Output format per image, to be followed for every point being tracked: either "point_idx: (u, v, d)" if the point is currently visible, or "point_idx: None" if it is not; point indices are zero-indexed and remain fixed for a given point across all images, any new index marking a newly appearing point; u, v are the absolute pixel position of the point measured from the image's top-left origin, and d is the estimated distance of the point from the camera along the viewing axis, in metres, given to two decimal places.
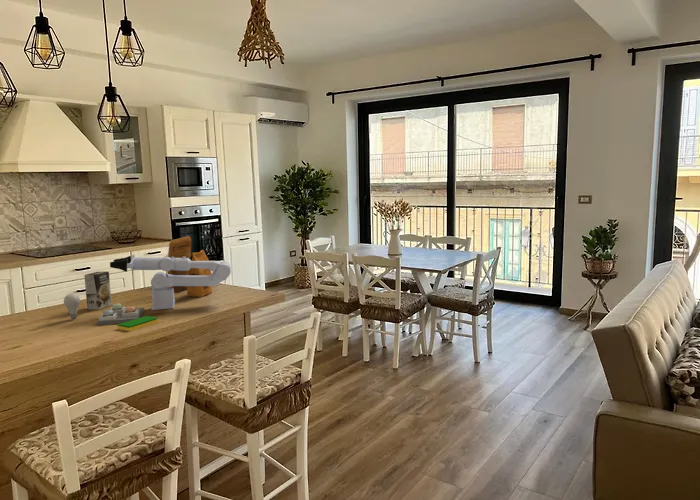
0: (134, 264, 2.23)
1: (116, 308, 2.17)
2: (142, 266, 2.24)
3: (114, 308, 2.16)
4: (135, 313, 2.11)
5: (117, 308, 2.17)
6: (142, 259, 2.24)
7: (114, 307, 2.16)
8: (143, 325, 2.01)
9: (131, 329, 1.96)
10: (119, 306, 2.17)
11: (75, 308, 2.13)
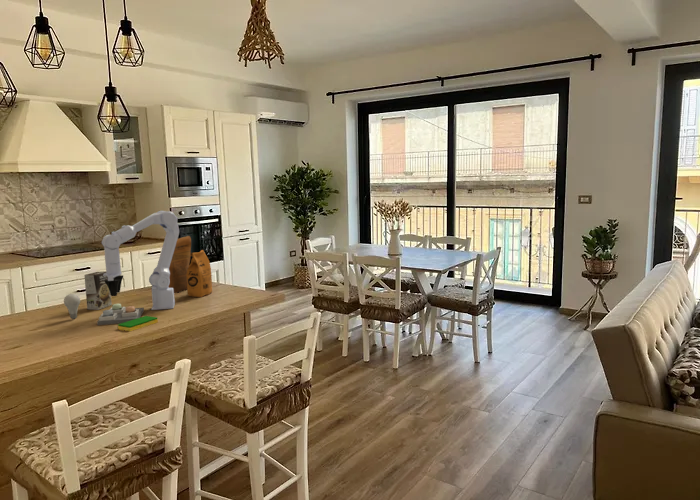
0: (112, 273, 2.13)
1: (116, 308, 2.17)
2: (113, 265, 2.13)
3: (114, 308, 2.16)
4: (135, 313, 2.11)
5: (117, 308, 2.17)
6: (106, 265, 2.13)
7: (114, 307, 2.16)
8: (143, 325, 2.01)
9: (132, 329, 1.96)
10: (119, 306, 2.17)
11: (75, 308, 2.13)
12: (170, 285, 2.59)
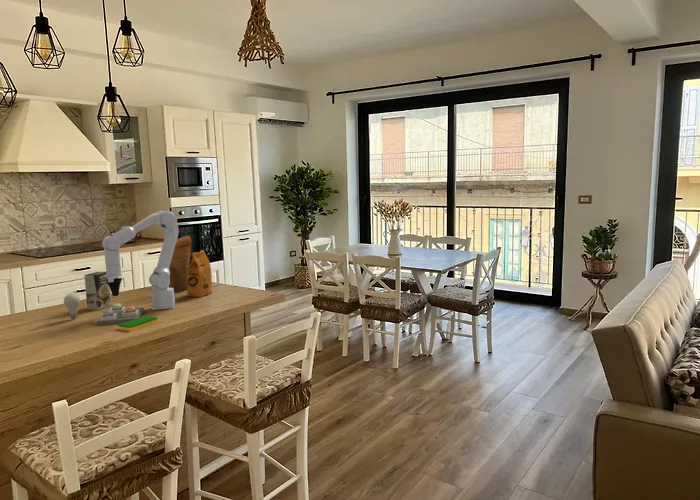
0: (112, 274, 2.13)
1: (116, 308, 2.17)
2: (113, 266, 2.13)
3: (114, 308, 2.16)
4: (135, 313, 2.11)
5: (117, 308, 2.17)
6: (106, 267, 2.13)
7: (114, 307, 2.16)
8: (143, 325, 2.01)
9: (132, 329, 1.96)
10: (119, 306, 2.17)
11: (75, 308, 2.13)
12: (170, 285, 2.59)
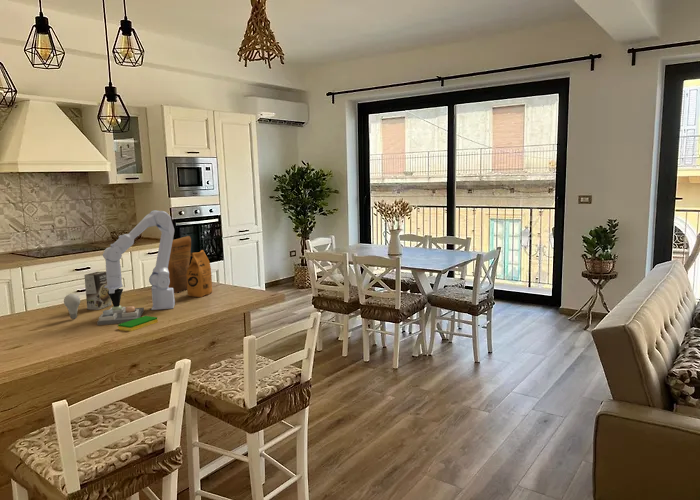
0: (113, 285, 2.14)
1: None
2: (114, 277, 2.14)
3: None
4: (135, 313, 2.11)
5: None
6: (107, 278, 2.14)
7: (114, 309, 2.16)
8: (143, 325, 2.01)
9: (132, 329, 1.96)
10: (119, 308, 2.17)
11: (75, 308, 2.13)
12: (170, 285, 2.59)
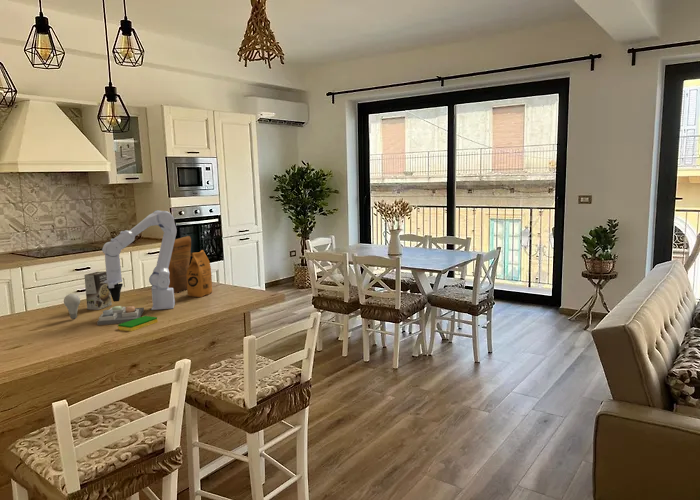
0: (112, 280, 2.14)
1: None
2: (114, 272, 2.14)
3: None
4: (135, 313, 2.11)
5: None
6: (107, 273, 2.14)
7: (114, 309, 2.17)
8: (144, 325, 2.01)
9: (133, 329, 1.96)
10: (119, 308, 2.17)
11: (75, 308, 2.13)
12: (170, 285, 2.59)
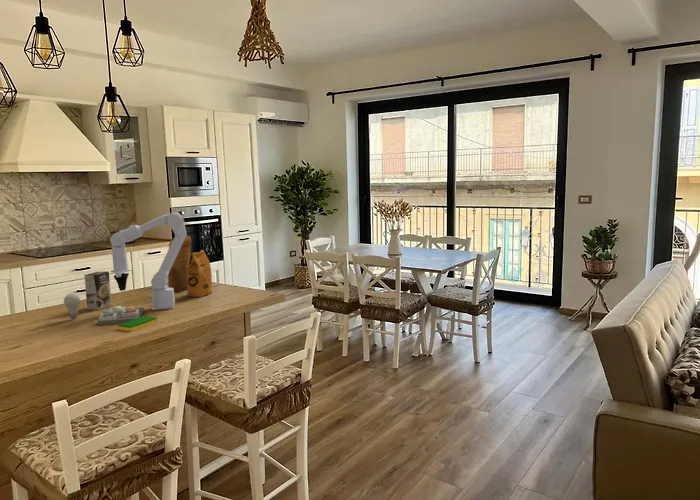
0: (119, 269, 2.21)
1: None
2: (121, 262, 2.21)
3: None
4: (135, 313, 2.11)
5: None
6: (114, 262, 2.21)
7: (114, 309, 2.17)
8: (144, 325, 2.01)
9: (133, 329, 1.96)
10: (119, 308, 2.17)
11: (75, 308, 2.13)
12: (170, 285, 2.59)
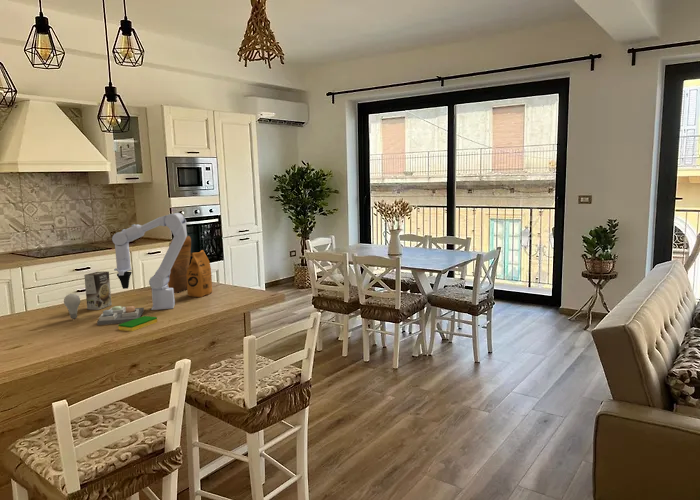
0: (122, 268, 2.25)
1: None
2: (124, 260, 2.25)
3: None
4: (135, 313, 2.11)
5: None
6: (117, 261, 2.25)
7: (114, 309, 2.17)
8: (144, 325, 2.01)
9: (133, 329, 1.96)
10: (119, 308, 2.17)
11: (75, 308, 2.13)
12: (170, 285, 2.59)
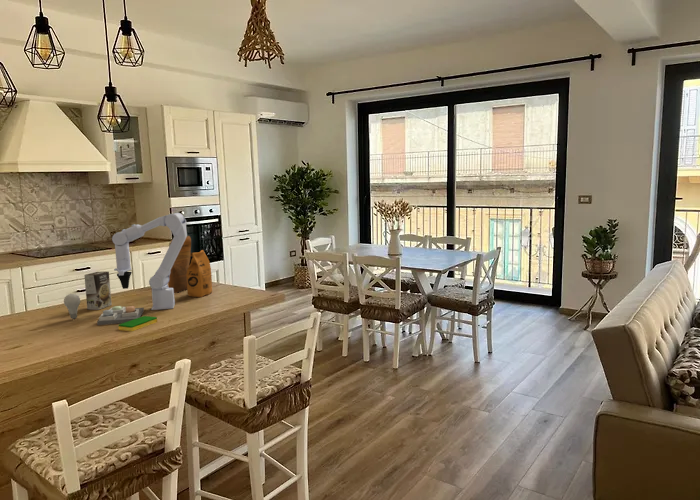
0: (122, 268, 2.25)
1: None
2: (124, 260, 2.25)
3: None
4: (135, 313, 2.11)
5: None
6: (117, 261, 2.25)
7: (114, 309, 2.17)
8: (144, 325, 2.01)
9: (133, 329, 1.96)
10: (119, 308, 2.17)
11: (75, 308, 2.13)
12: (170, 285, 2.59)
